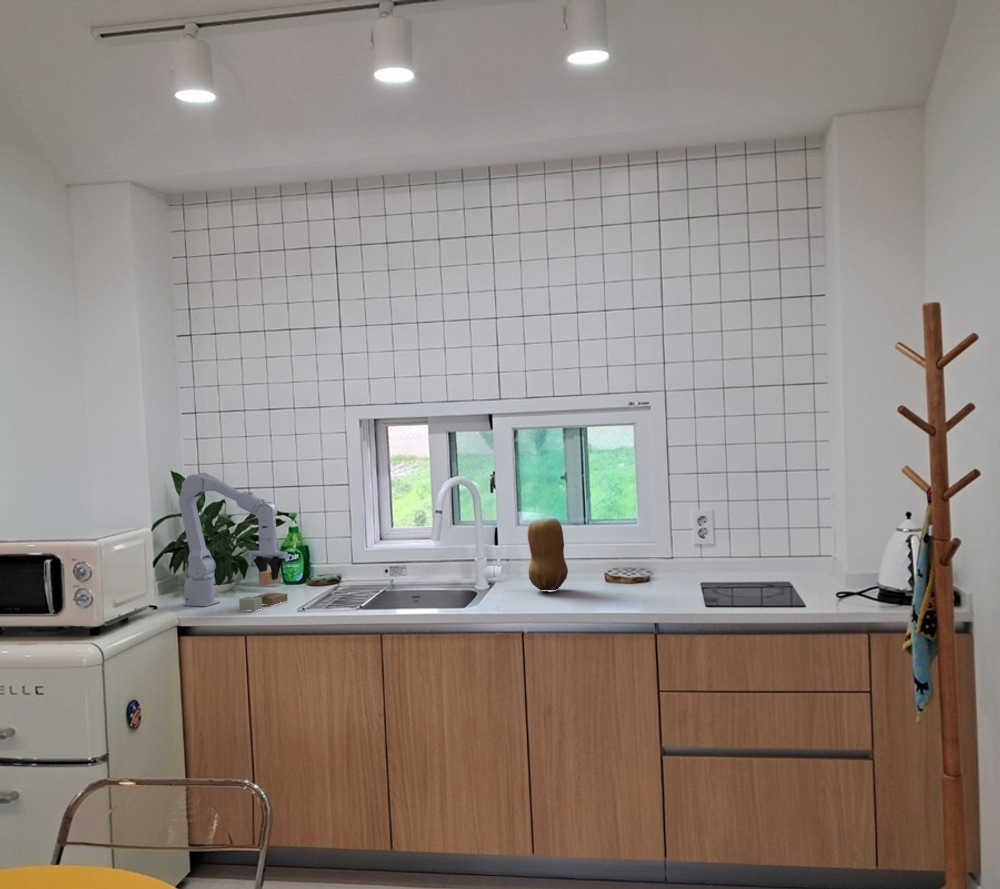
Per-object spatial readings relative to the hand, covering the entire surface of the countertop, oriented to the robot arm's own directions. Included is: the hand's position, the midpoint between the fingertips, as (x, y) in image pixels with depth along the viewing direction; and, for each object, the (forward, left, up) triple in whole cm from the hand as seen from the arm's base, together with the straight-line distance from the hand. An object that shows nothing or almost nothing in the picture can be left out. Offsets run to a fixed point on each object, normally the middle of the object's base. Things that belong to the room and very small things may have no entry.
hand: (269, 579), depth 320 cm
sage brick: (+1, -12, -8) cm, 14 cm away
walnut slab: (0, 0, -8) cm, 8 cm away
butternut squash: (+83, +42, -8) cm, 94 cm away
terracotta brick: (0, 0, -1) cm, 1 cm away
